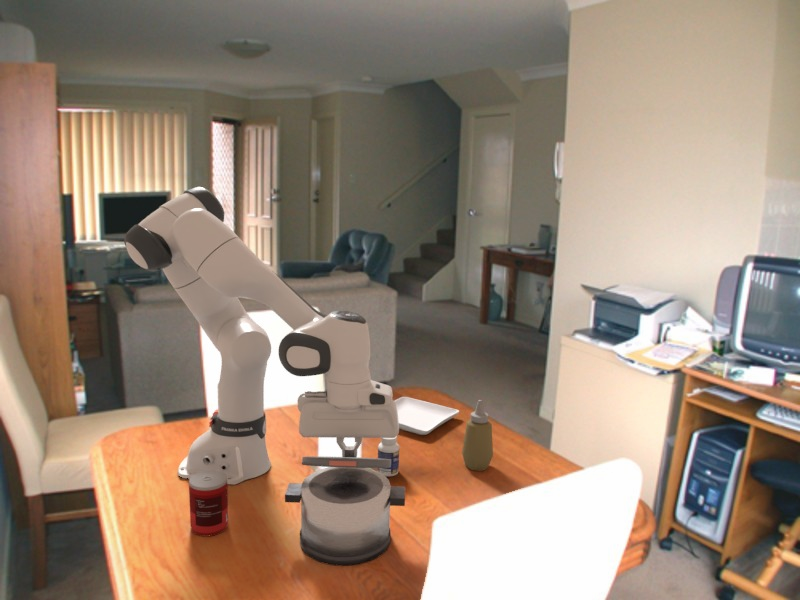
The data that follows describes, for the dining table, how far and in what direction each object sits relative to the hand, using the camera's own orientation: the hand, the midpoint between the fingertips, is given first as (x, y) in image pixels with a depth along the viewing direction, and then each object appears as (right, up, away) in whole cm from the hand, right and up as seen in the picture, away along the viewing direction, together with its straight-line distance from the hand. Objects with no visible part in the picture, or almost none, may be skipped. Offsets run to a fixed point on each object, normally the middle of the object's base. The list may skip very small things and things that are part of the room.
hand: (349, 456), depth 134 cm
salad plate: (+15, -6, +66) cm, 68 cm away
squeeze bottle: (+30, -12, +36) cm, 49 cm away
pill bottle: (+7, -12, +32) cm, 34 cm away
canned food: (-30, -16, +4) cm, 34 cm away
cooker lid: (-1, -1, -2) cm, 3 cm away
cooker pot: (-1, -17, +1) cm, 17 cm away
